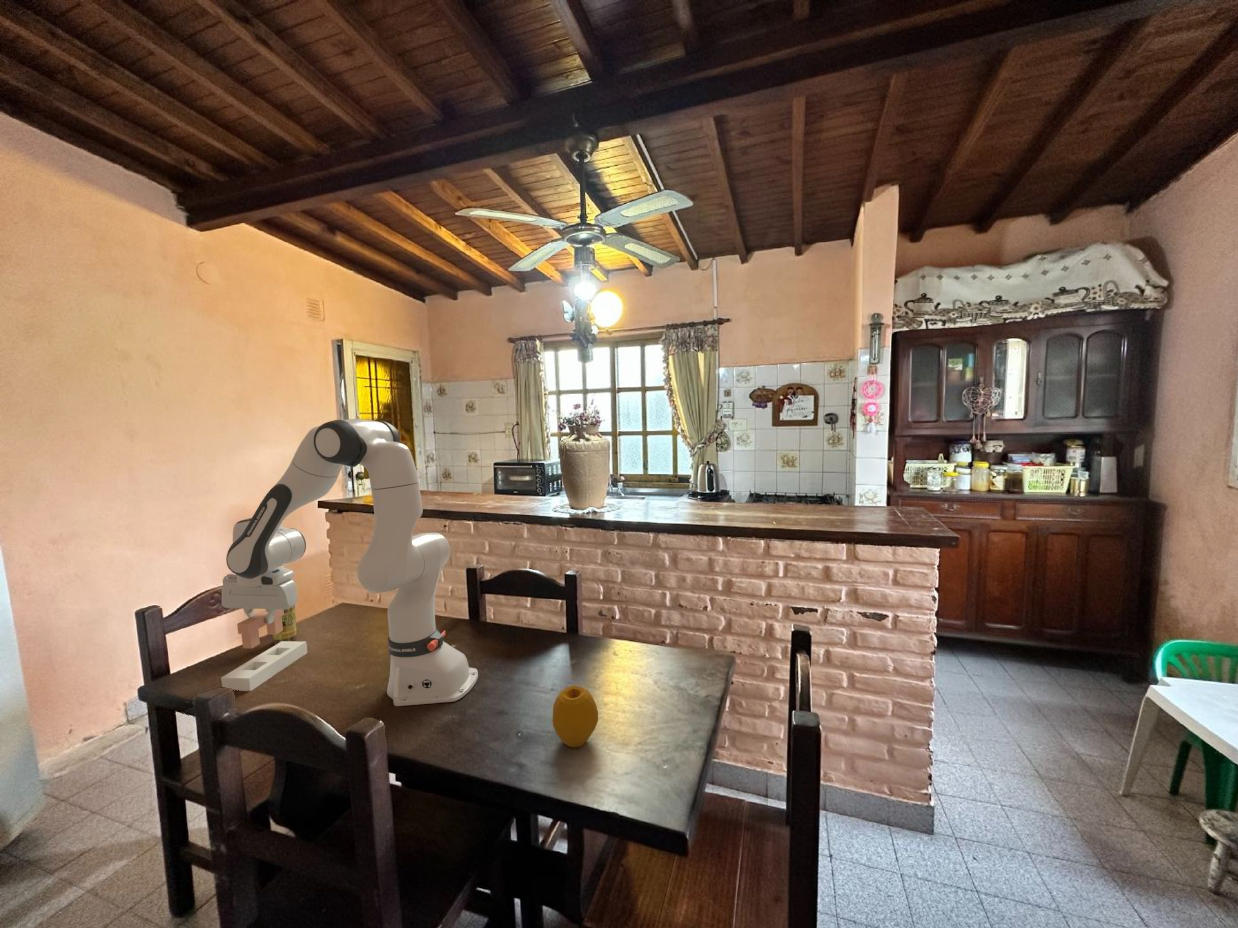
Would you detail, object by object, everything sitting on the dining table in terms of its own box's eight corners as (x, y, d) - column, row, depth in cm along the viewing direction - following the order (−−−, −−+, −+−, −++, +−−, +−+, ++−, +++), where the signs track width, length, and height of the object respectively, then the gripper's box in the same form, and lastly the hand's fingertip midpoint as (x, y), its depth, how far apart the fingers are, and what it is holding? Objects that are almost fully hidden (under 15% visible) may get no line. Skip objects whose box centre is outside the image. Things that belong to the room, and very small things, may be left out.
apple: (608, 739, 102) (606, 687, 101) (575, 764, 95) (572, 709, 94) (577, 720, 109) (575, 671, 107) (543, 743, 101) (541, 691, 100)
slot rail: (307, 652, 144) (306, 641, 144) (250, 690, 125) (249, 678, 124) (283, 652, 145) (281, 641, 145) (222, 690, 125) (221, 677, 125)
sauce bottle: (285, 646, 149) (278, 584, 147) (268, 645, 150) (261, 584, 148) (302, 636, 155) (296, 577, 153) (286, 635, 156) (280, 576, 154)
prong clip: (285, 629, 140) (283, 605, 139) (250, 649, 128) (247, 624, 127) (276, 628, 140) (273, 605, 139) (240, 649, 128) (237, 623, 128)
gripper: (211, 577, 130) (217, 626, 131) (281, 579, 128) (286, 628, 129) (232, 570, 136) (237, 616, 138) (299, 571, 134) (303, 618, 136)
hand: (261, 622), depth 134 cm, fingers closed on prong clip, 3 cm apart
